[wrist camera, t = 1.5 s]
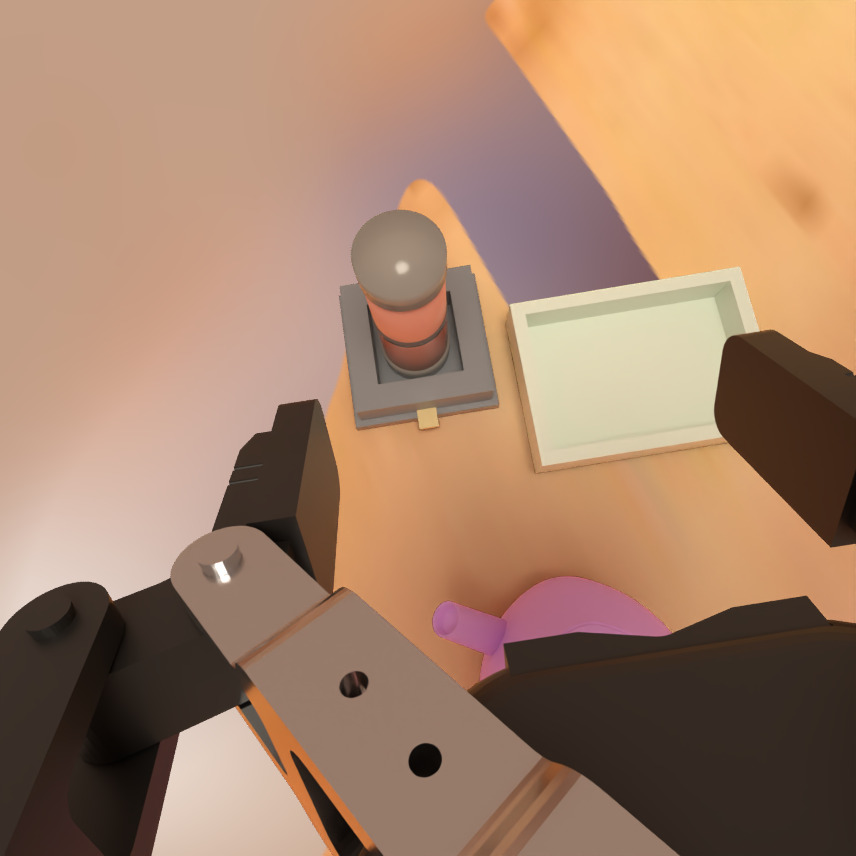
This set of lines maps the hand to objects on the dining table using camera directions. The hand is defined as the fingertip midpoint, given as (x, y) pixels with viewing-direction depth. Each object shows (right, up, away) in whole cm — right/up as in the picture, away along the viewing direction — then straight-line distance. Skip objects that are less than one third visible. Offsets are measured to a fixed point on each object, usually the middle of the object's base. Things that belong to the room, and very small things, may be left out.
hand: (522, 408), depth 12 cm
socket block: (-3, +5, +26) cm, 27 cm away
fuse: (-3, +5, +25) cm, 26 cm away
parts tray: (+11, +3, +25) cm, 28 cm away
